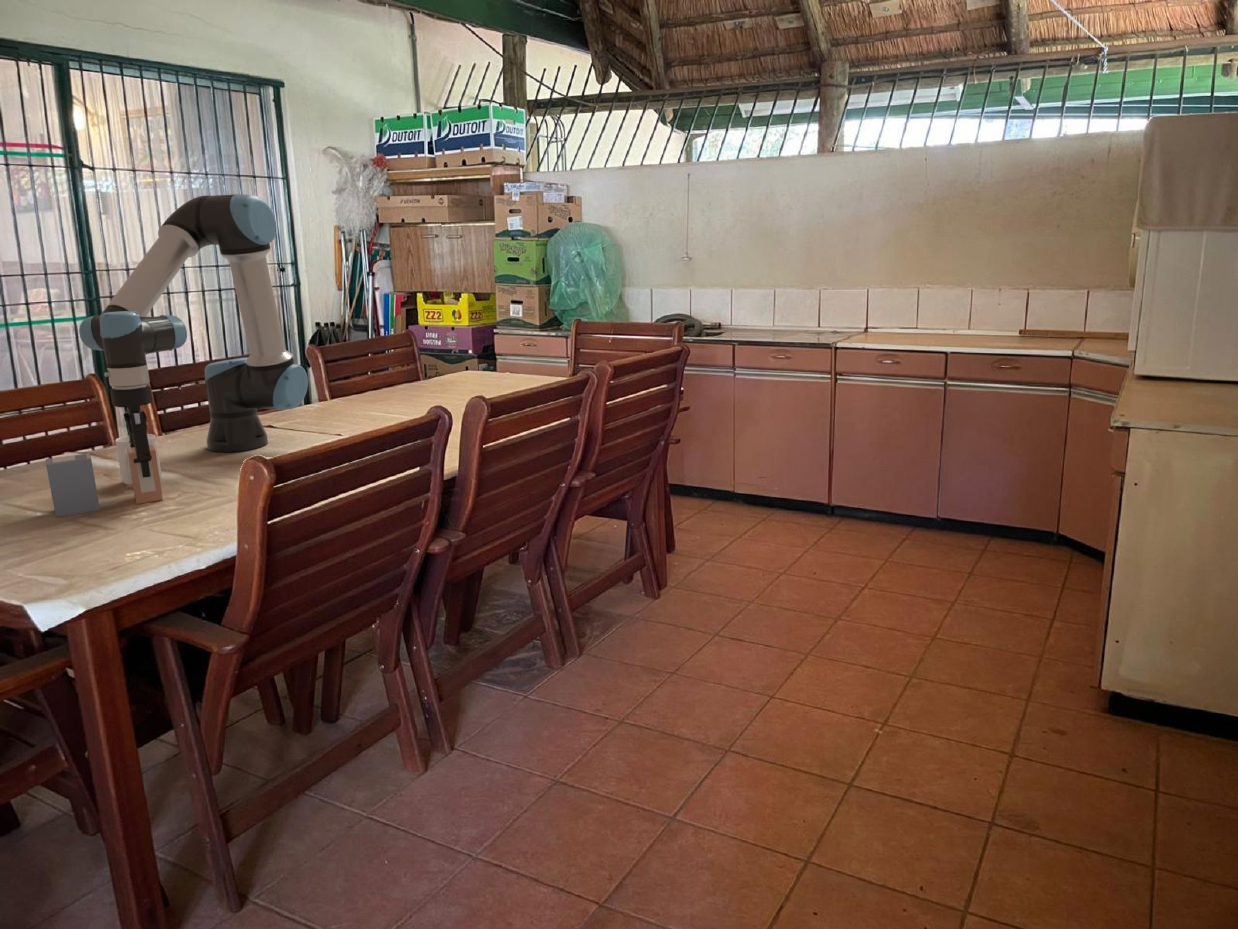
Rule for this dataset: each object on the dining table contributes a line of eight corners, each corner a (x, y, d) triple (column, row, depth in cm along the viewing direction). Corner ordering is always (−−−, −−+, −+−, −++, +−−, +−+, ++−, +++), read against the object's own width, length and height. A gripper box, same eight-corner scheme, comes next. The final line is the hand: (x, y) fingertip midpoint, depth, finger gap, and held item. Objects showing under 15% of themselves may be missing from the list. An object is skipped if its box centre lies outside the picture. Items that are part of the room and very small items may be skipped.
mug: (149, 489, 208) (142, 444, 205) (110, 491, 207) (102, 446, 204) (167, 475, 219) (160, 433, 217) (130, 477, 218) (123, 434, 216)
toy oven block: (98, 503, 198) (89, 452, 195) (100, 510, 193) (91, 458, 190) (55, 509, 194) (45, 458, 191) (55, 516, 189) (45, 464, 186)
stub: (159, 493, 204) (152, 444, 201) (163, 499, 199) (155, 449, 196) (134, 497, 201) (126, 447, 198) (137, 503, 196) (128, 452, 193)
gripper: (106, 380, 202) (121, 474, 207) (114, 396, 182) (131, 500, 187) (144, 376, 206) (158, 469, 211) (156, 392, 185) (171, 494, 191)
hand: (145, 484), depth 199 cm, fingers open, 12 cm apart
